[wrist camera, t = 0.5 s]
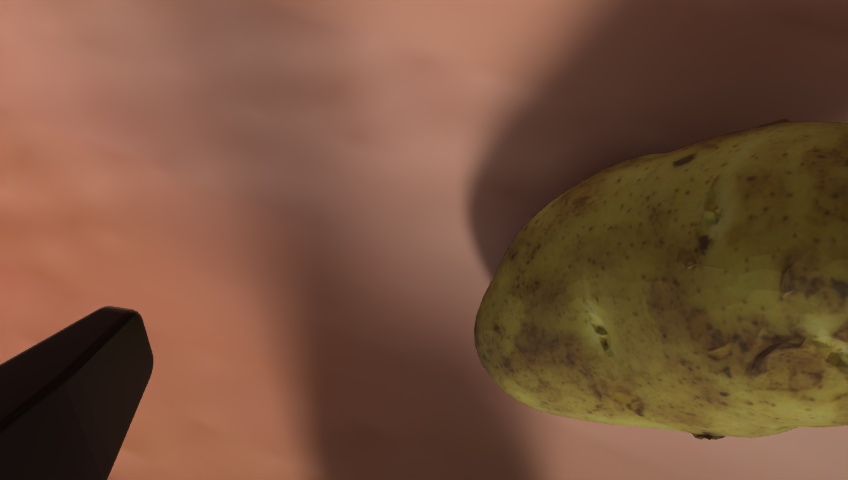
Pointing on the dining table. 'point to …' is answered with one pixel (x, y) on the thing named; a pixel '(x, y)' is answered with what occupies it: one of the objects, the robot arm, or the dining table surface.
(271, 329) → the dining table surface
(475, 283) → the dining table surface
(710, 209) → the potato
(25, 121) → the dining table surface
